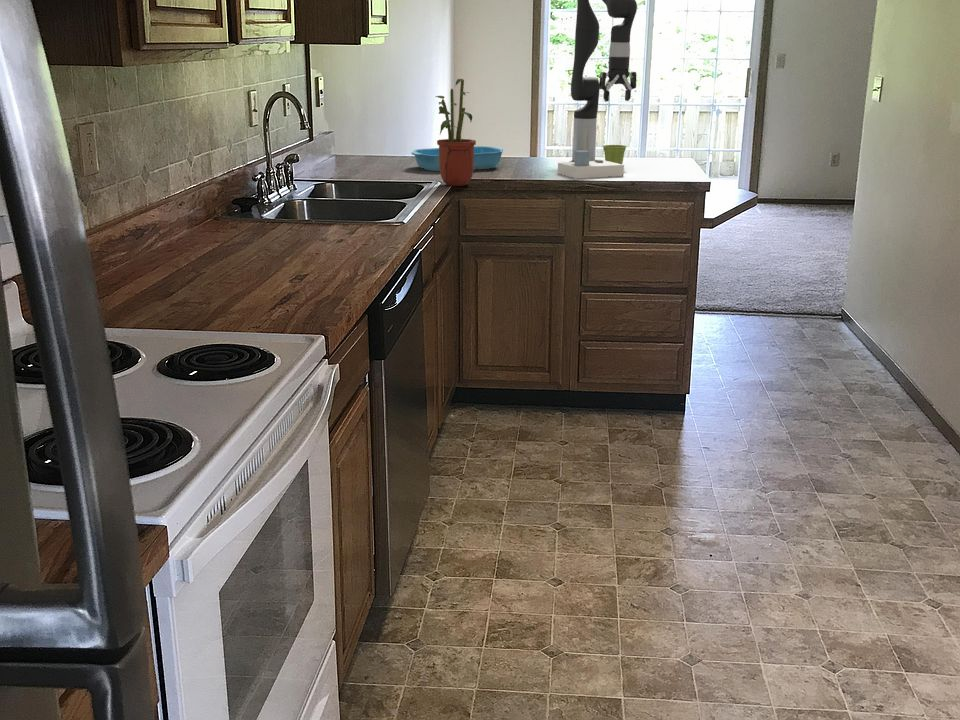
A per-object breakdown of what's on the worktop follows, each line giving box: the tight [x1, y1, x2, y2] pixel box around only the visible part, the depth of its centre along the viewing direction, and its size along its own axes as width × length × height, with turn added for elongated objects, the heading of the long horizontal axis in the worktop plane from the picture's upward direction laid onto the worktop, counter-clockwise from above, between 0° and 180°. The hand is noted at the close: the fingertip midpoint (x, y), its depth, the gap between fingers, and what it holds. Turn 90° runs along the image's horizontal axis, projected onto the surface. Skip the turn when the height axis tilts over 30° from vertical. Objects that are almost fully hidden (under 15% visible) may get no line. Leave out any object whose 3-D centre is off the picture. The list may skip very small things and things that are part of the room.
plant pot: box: [601, 144, 628, 165], centre depth 373 cm, size 9×9×9 cm
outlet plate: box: [557, 159, 625, 179], centre depth 356 cm, size 14×20×5 cm
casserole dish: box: [410, 145, 504, 172], centre depth 374 cm, size 37×22×7 cm, turn 113°
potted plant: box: [434, 78, 477, 187], centre depth 325 cm, size 17×16×35 cm
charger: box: [573, 150, 590, 166], centre depth 352 cm, size 4×4×9 cm
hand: (616, 100), depth 360 cm, fingers open, 8 cm apart
